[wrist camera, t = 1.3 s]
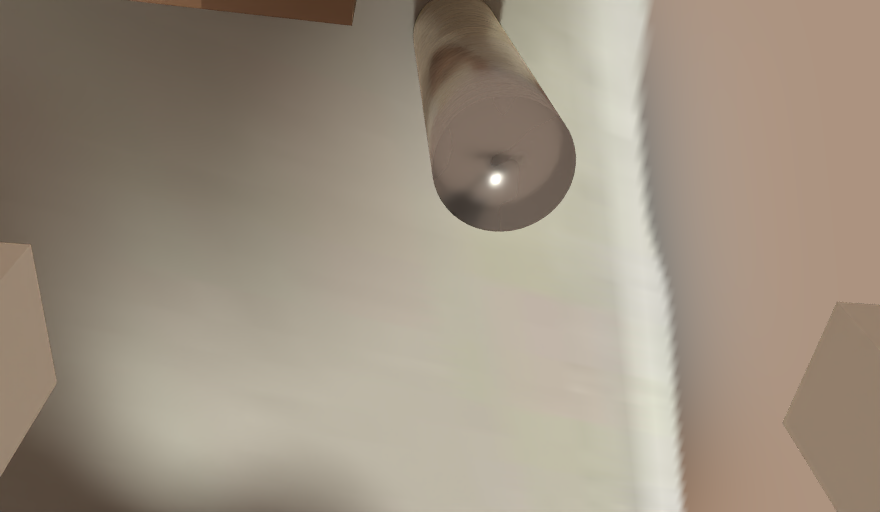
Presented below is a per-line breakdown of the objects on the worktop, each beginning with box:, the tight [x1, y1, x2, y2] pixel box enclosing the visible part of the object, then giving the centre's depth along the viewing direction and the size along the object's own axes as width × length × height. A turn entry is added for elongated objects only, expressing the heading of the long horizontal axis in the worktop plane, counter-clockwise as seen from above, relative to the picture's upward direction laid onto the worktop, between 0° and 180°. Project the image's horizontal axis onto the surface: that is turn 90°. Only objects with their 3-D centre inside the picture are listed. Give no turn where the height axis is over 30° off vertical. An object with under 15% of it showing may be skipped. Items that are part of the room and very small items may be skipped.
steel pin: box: [413, 0, 576, 231], centre depth 24 cm, size 3×3×14 cm
